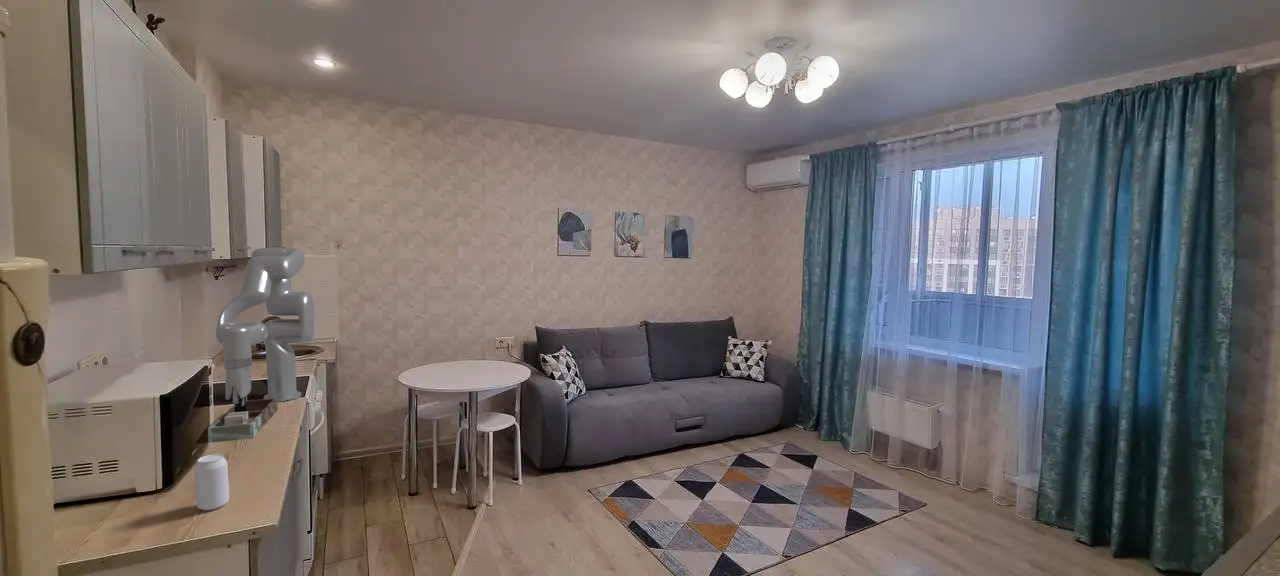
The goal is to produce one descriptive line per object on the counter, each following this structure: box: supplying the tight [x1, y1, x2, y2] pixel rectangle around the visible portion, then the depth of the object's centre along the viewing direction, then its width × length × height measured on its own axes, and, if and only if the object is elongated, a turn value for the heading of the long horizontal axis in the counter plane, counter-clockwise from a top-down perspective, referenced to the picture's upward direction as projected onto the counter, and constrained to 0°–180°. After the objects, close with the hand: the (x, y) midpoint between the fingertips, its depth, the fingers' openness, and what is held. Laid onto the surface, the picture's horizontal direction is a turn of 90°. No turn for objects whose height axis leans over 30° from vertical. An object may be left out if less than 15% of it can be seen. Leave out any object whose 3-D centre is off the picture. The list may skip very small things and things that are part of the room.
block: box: [224, 411, 248, 426], centre depth 179 cm, size 5×5×4 cm
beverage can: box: [193, 453, 230, 511], centre depth 131 cm, size 6×6×12 cm
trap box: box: [207, 398, 279, 443], centre depth 187 cm, size 30×12×4 cm, turn 21°
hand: (241, 416), depth 183 cm, fingers closed
